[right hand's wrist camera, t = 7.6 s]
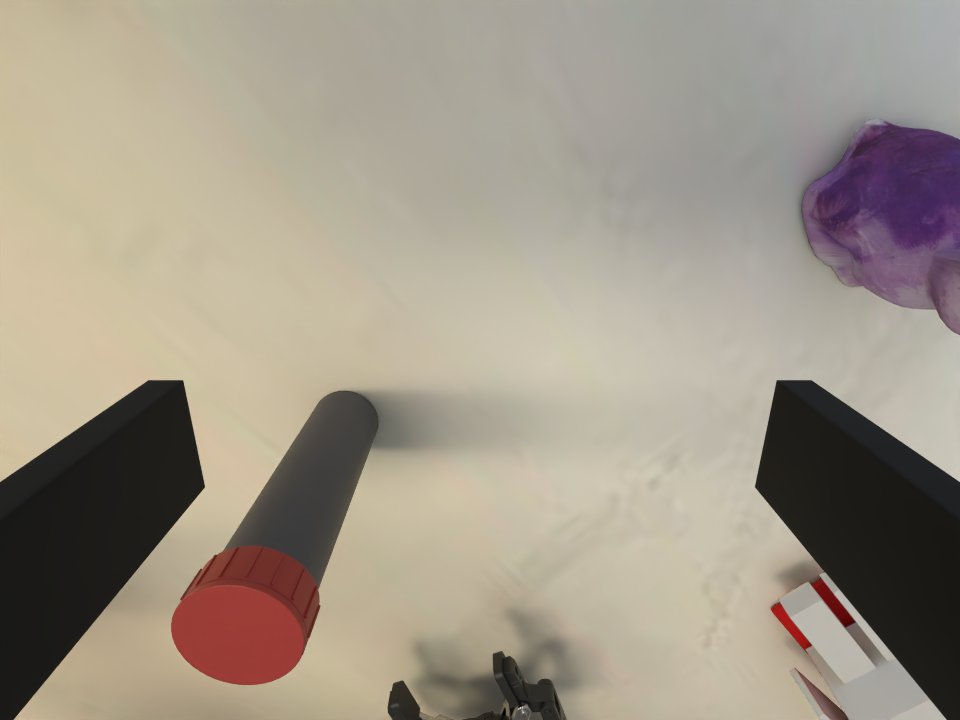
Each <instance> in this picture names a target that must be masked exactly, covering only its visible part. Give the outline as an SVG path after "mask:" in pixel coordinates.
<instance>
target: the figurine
mask: <svg viewBox="0 0 960 720" xmlns="http://www.w3.org/2000/svg"><path fill="white" fill-rule="evenodd" d="M801 212H802V216H803V221H804V224H805V228H806V232H807V235H808V239H809V243H810V245H811V247H812V249H813V251H814V253H815V256H816V257H817V258H819V259H820V260H821V261H822V262H823V263H824V264H826V265H827V266H831V267H832V269H833V270H834V271H835V273H836V275H837V276H838V278H839V279H840V281H841V282H842V283H843V284H845V285H846V286H849V287H855V286H856V287H859V286H864V287H865V288H866V289H868V290H869V291H871V292H873V293H874V294H876V295H878V296H879V297H881V298H883V299H885V300H887V301H889V302H891V303H893V304H896V305H899V306H901V307H906V308H912V309H936V310H937V312H938V314H939V317H940V318H941V320H942V321H943V322H944V323H945V325H946V326H947V327H948V328H949V329H950V330H951V331H953V332H955V333H957V334H959V335H960V140H959V139H957V138H955V137H952V136H950V135H947V134H944V133H941V132H938V131H933V130H929V129H914V128H906V127H899V126H896V125H893V124H891V123H888V122H886V121H884V120H878V119H873V120H868V121H866V122H865V123H863V124H862V125H861V126H860V127H859V128H858V129H857V130H856V132H855V133H854V135H853V137H852V140H851V142H850V144H849V146H848V148H847V150H846V152H845V154H844V156H843V158H842V160H841V161H840V163H839V164H838V165H837V166H836V167H835V168H834V169H833V170H832V171H830V172H829V173H828V174H827V175H825V176H824V177H822V178H820V179H818V180H816V181H814V182H813V183H812V184H811V185H810V186H809V188H808V189H807V191H806V193H805V195H804V199H803V202H802V211H801Z"/></svg>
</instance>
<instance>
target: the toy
mask: <svg viewBox="0 0 960 720" xmlns="http://www.w3.org/2000/svg"><path fill="white" fill-rule="evenodd" d="M819 576H820V577H821V578H822V579H820V580H818V581H817V582H815V583H813V584H811V585H810V583H809V582H806V583H804V584H803V585H801V586H799V587H797V588H796V589H794V590H792V591H790V592H789V593H787V594H785V595H783V596H782V597H780V598H778V600H779V601H780V604H778V605H776V606H775V607H773V608H771V610H772V612H773V614H774V615H775V616H776V617H777V618H778V619H779V621H780V622H781V623H782V624H783V625H784V626H785V628H786V629H787V630H788V631H789V632H790V634H791V635H792V636H793V637H794V638H795V639H796V641H797V642H798V643H799V644H800V645H801V646H802V648H803V649H804V650H805V651H806V652H807V654H808V655H809V656H810V658H811V659H812V661H813V663H814V664H815V666H816V667H817V669H818V671H819V672H820V674H821V675H822V677H823V679H824V680H825V682H826V683H827V685H828V687H829V688H830V690H831V691H832V693H833V695H834V696H835V698H836V699H837V701H838V703H839V704H840V706H841V707H842V709H843V711H844V712H845V713H844V712H843V711H842V710H841V709H840V708H839V707H838V706H837V705H835V704H834V703H833V702H832V701H831V700H830V699H829V698H828V697H827V696H826V695H824V694H823V693H822V692H821V691H820V690H819V689H818V688H817V687H816V686H814V685H813V684H812V683H811V682H810V681H809V680H808V679H807V678H806V677H805V676H803V675H802V674H801V673H800V672H799V671H798V670H797V669H796V668H794V669H792V670H791V671H790V673H791V675H792V676H793V678H794V679H795V681H796V683H797V684H798V686H799V687H800V689H801V691H802V692H803V694H804V695H805V697H806V699H807V700H808V702H809V703H810V705H811V707H812V708H813V710H814V712H815V713H816V715H817V716H818V718H819V719H820V720H946V719H945V717H944V716H943V715H942V714H941V712H940V711H939V710H938V709H937V708H936V706H935V705H934V704H933V703H932V702H931V700H930V699H929V698H928V697H927V695H926V694H925V693H924V692H923V691H922V689H921V688H920V687H919V686H918V684H917V683H916V682H915V681H914V680H913V678H912V677H911V676H910V675H909V674H908V672H907V671H906V670H905V669H904V667H903V666H902V665H901V664H900V663H899V661H898V660H897V659H896V658H895V657H894V655H893V654H892V653H891V652H890V650H889V649H888V648H887V647H886V646H885V644H884V643H883V642H882V641H881V640H880V638H879V637H878V636H877V635H876V633H875V632H874V631H873V630H872V629H871V627H870V626H869V625H868V624H867V623H866V621H865V620H864V619H863V618H862V616H861V615H860V614H859V613H858V612H857V610H856V609H855V608H854V607H853V606H852V604H851V603H850V602H849V601H848V599H847V598H846V597H845V596H844V595H843V593H842V592H841V591H840V590H839V589H838V587H837V586H836V585H835V584H834V582H833V581H832V580H831V579H830V578H829V576H828V575H827V574H826V573H825V572H824V573H822V574H820V575H819Z"/></svg>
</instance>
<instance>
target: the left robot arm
mask: <svg viewBox="0 0 960 720" xmlns="http://www.w3.org/2000/svg"><path fill="white" fill-rule="evenodd" d="M493 672H494V677H495V679H496V681H497V683H498V685H499V687H500V689H501V691H502V693H503V694H504V696H505V701H504V703H503V706H502V708H501V711H500V713H499V714H494V713H493V711H491V712H488V713H484V714H482V715H480V716H478V717H477V718H468V719H463V720H529V718H530V716H531V713H532V712H541V715H542V718H543V720H567V719H566V716H565V714H564V711H563V709H562V706H561V704H560V701H559V699H558V696H557V693H556V691H555V688H554V686H553V683H552V681H551V680H549V679H541V680H540V681H539V682H538V684H536V685H533V684H529V683H528V681H526V680H524V678H523V676H522V674H521V672H520V670H519V668H518V666H517V664H516V662H515V660H514V659H513V658H512V657H510V656H509V657H505V655H504V653H503V652H502V651H500V652H497V653H494V654H493ZM388 713H389V715H390V716H391V717H392V720H453V719H450V718H448V717H445V716H443V715H438V716H437V717H436V718H434V717H431V716H429V715H426V714H424V713H421V712H420V707H419V706H418V704H417V702H416V701H415V699H414V697H413V696H412V694H411V693H410V691H409V689H408V688H407V686H406V685H405V683H404V681H399V682H396V683H393V687H392V691H390V697H389V703H388Z"/></svg>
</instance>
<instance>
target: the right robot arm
mask: <svg viewBox="0 0 960 720" xmlns="http://www.w3.org/2000/svg"><path fill="white" fill-rule="evenodd" d="M204 488H205V485H204V480H203V475H202V470H201V465H200V460H199V455H198V450H197V445H196V441H195V436H194V431H193V426H192V421H191V416H190V411H189V406H188V402H187V397H186V392H185V387H184V382H183V380H148V381H147V382H145V383H144V384H143V385H141V386H140V387H138V388H137V389H135V390H134V391H132V392H131V393H129V394H128V395H127V396H125V397H124V398H122V399H121V400H119V401H118V402H116V403H115V404H113V405H112V406H110V407H109V408H108V409H106V410H105V411H103V412H102V413H100V414H99V415H97V416H96V417H94V418H93V419H92V420H90V421H89V422H87V423H86V424H84V425H83V426H81V427H80V428H78V429H77V430H76V431H74V432H73V433H71V434H70V435H68V436H67V437H65V438H64V439H62V440H61V441H59V442H58V443H57V444H55V445H54V446H52V447H51V448H49V449H48V450H46V451H45V452H43V453H42V454H41V455H39V456H38V457H36V458H35V459H33V460H32V461H30V462H29V463H27V464H26V465H24V466H23V467H22V468H20V469H19V470H17V471H16V472H14V473H13V474H11V475H10V476H8V477H7V478H6V479H4V480H3V481H1V482H0V720H14V719H15V717H16V716H17V715H18V714H19V712H20V711H21V710H22V709H23V708H24V706H25V705H26V704H27V703H28V702H29V700H30V699H31V698H32V697H33V695H34V694H35V693H36V692H37V691H38V689H39V688H40V687H41V686H42V684H43V683H44V682H45V681H46V680H47V678H48V677H49V676H50V675H51V674H52V672H53V671H54V670H55V669H56V667H57V666H58V665H59V664H60V663H61V661H62V660H63V659H64V658H65V657H66V655H67V654H68V653H69V652H70V650H71V649H72V648H73V647H74V646H75V644H76V643H77V642H78V641H79V640H80V638H81V637H82V636H83V635H84V633H85V632H86V631H87V630H88V629H89V627H90V626H91V625H92V624H93V623H94V621H95V620H96V619H97V618H98V616H99V615H100V614H101V613H102V612H103V610H104V609H105V608H106V607H107V606H108V604H109V603H110V602H111V601H112V599H113V598H114V597H115V596H116V595H117V593H118V592H119V591H120V590H121V589H122V587H123V586H124V585H125V584H126V582H127V581H128V580H129V579H130V578H131V576H132V575H133V574H134V573H135V572H136V570H137V569H138V568H139V567H140V565H141V564H142V563H143V562H144V561H145V559H146V558H147V557H148V556H149V555H150V553H151V552H152V551H153V550H154V548H155V547H156V546H157V545H158V544H159V542H160V541H161V540H162V539H163V537H164V536H165V535H166V534H167V533H168V531H169V530H170V529H171V528H172V527H173V525H174V524H175V523H176V522H177V520H178V519H179V518H180V517H181V516H182V514H183V513H184V512H185V511H186V510H187V508H188V507H189V506H190V505H191V503H192V502H193V501H194V500H195V499H196V497H197V496H198V495H199V494H200V493H201V491H202V490H203V489H204ZM755 488H756V489H757V490H758V491H759V493H760V494H761V495H762V496H763V497H764V499H765V500H766V501H767V502H768V503H769V505H770V506H771V507H772V508H773V510H774V511H775V512H776V513H777V514H778V516H779V517H780V518H781V519H782V520H783V522H784V523H785V524H786V525H787V527H788V528H789V529H790V530H791V531H792V533H793V534H794V535H795V536H796V537H797V539H798V540H799V541H800V542H801V544H802V545H803V546H804V547H805V548H806V550H807V551H808V552H809V553H810V555H811V556H812V557H813V558H814V559H815V561H816V562H817V563H818V564H819V565H820V567H821V568H822V569H823V570H824V572H825V573H826V574H827V575H828V576H829V578H830V579H831V580H832V581H833V582H834V584H835V585H836V586H837V587H838V589H839V590H840V591H841V592H842V593H843V595H844V596H845V597H846V598H847V599H848V601H849V602H850V603H851V604H852V606H853V607H854V608H855V609H856V610H857V612H858V613H859V614H860V615H861V616H862V618H863V619H864V620H865V621H866V623H867V624H868V625H869V626H870V627H871V629H872V630H873V631H874V632H875V633H876V635H877V636H878V637H879V638H880V640H881V641H882V642H883V643H884V644H885V646H886V647H887V648H888V649H889V650H890V652H891V653H892V654H893V655H894V657H895V658H896V659H897V660H898V661H899V663H900V664H901V665H902V666H903V667H904V669H905V670H906V671H907V672H908V674H909V675H910V676H911V677H912V678H913V680H914V681H915V682H916V683H917V684H918V686H919V687H920V688H921V689H922V691H923V692H924V693H925V694H926V695H927V697H928V698H929V699H930V700H931V702H932V703H933V704H934V705H935V706H936V708H937V709H938V710H939V711H940V712H941V714H942V715H943V716H944V717H945V719H946V720H960V482H959V481H957V480H956V479H954V478H953V477H952V476H950V475H949V474H947V473H946V472H944V471H943V470H941V469H940V468H938V467H937V466H936V465H934V464H933V463H931V462H930V461H928V460H927V459H925V458H924V457H922V456H921V455H919V454H918V453H917V452H915V451H914V450H912V449H911V448H909V447H908V446H906V445H905V444H903V443H902V442H901V441H899V440H898V439H896V438H895V437H893V436H892V435H890V434H889V433H887V432H886V431H884V430H883V429H882V428H880V427H879V426H877V425H876V424H874V423H873V422H871V421H870V420H868V419H867V418H866V417H864V416H863V415H861V414H860V413H858V412H857V411H855V410H854V409H852V408H851V407H850V406H848V405H847V404H845V403H844V402H842V401H841V400H839V399H838V398H836V397H835V396H833V395H832V394H831V393H829V392H828V391H826V390H825V389H823V388H822V387H820V386H819V385H817V384H816V383H815V382H813V381H812V380H777V382H776V387H775V392H774V397H773V402H772V406H771V411H770V416H769V421H768V426H767V431H766V436H765V441H764V445H763V450H762V455H761V460H760V465H759V470H758V475H757V480H756V485H755Z"/></svg>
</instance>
